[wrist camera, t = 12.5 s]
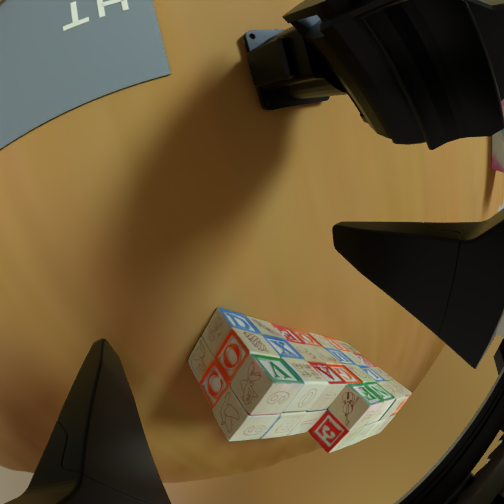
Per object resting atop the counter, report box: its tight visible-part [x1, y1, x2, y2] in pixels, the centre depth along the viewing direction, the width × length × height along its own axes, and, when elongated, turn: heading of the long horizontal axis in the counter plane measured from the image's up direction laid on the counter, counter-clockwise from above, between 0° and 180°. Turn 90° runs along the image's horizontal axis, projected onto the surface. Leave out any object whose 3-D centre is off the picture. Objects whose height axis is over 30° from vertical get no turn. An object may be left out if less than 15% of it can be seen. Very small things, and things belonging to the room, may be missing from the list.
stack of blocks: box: [188, 307, 412, 453], centre depth 24 cm, size 21×6×12 cm, turn 56°
